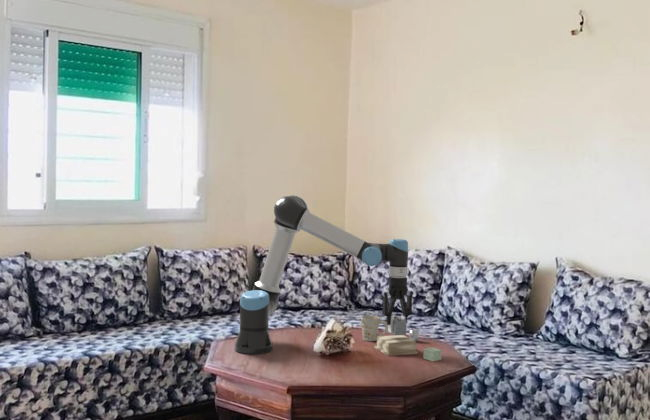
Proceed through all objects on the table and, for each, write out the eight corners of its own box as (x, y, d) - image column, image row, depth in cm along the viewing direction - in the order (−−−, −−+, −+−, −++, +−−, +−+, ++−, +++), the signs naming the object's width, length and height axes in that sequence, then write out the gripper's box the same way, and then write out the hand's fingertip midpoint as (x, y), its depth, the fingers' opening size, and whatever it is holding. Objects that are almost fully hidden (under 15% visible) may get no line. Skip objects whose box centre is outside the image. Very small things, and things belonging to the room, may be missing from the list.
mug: (357, 337, 296) (358, 315, 296) (383, 336, 300) (384, 314, 299) (364, 342, 288) (364, 319, 288) (390, 341, 292) (391, 318, 291)
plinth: (374, 347, 280) (374, 335, 279) (403, 345, 284) (403, 334, 284) (387, 355, 267) (388, 343, 266) (417, 353, 271) (418, 341, 271)
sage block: (423, 358, 265) (423, 348, 264) (431, 356, 268) (432, 347, 268) (432, 361, 261) (433, 351, 261) (441, 359, 264) (441, 349, 264)
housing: (395, 335, 270) (395, 318, 270) (386, 331, 278) (387, 315, 278) (406, 334, 272) (406, 318, 272) (397, 330, 280) (398, 314, 279)
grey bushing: (407, 340, 294) (407, 329, 294) (415, 340, 295) (415, 329, 295) (411, 342, 290) (412, 331, 290) (419, 342, 291) (420, 331, 291)
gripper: (382, 278, 267) (380, 335, 268) (421, 277, 273) (420, 333, 274) (374, 275, 275) (373, 331, 276) (413, 274, 281) (411, 329, 282)
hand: (396, 332), depth 275 cm, fingers closed on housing, 5 cm apart
